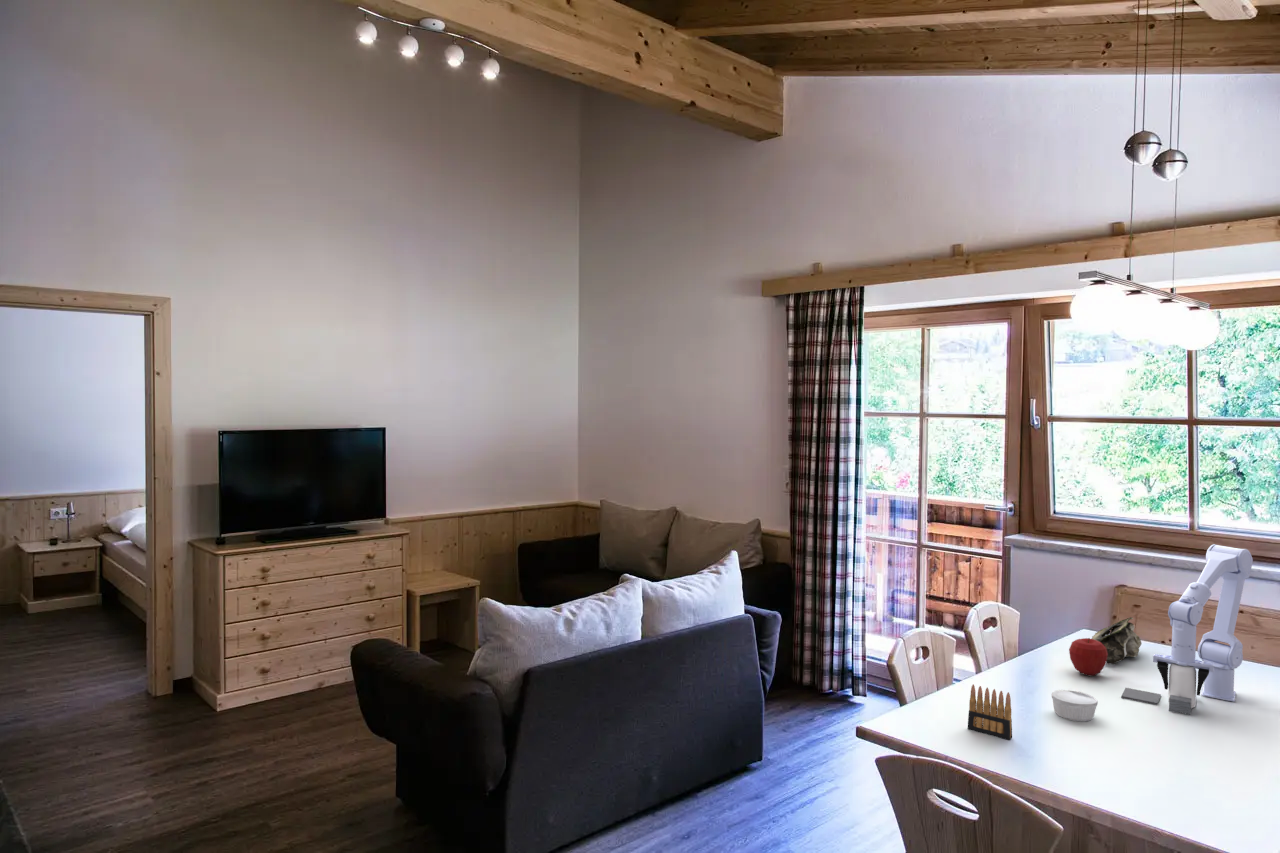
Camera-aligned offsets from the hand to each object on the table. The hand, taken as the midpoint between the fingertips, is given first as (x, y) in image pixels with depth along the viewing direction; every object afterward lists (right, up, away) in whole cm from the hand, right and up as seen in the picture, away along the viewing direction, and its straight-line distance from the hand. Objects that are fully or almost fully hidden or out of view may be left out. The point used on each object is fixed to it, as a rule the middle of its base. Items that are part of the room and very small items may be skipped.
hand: (1182, 691), depth 237 cm
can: (0, -4, 0) cm, 4 cm away
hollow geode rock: (+6, -3, +45) cm, 45 cm away
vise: (0, -4, 0) cm, 4 cm away
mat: (-8, -4, +6) cm, 11 cm away
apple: (-13, -3, +26) cm, 29 cm away
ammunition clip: (-64, -4, -22) cm, 68 cm away
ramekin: (-35, -4, -8) cm, 36 cm away
